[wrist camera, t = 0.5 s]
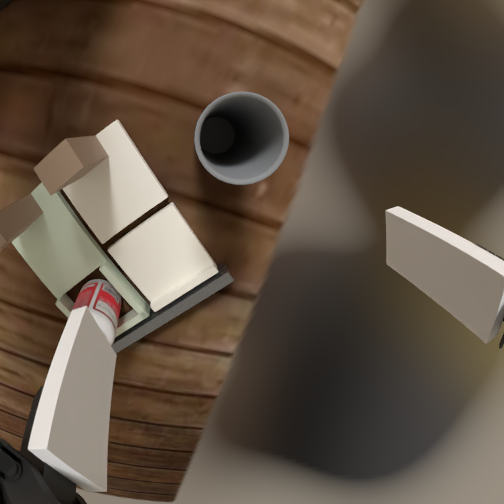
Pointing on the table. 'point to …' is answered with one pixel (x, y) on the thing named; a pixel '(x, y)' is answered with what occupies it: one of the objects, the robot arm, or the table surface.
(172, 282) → the white strip
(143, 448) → the table surface
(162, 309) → the end bar
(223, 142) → the cup
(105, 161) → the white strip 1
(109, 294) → the pill bottle
